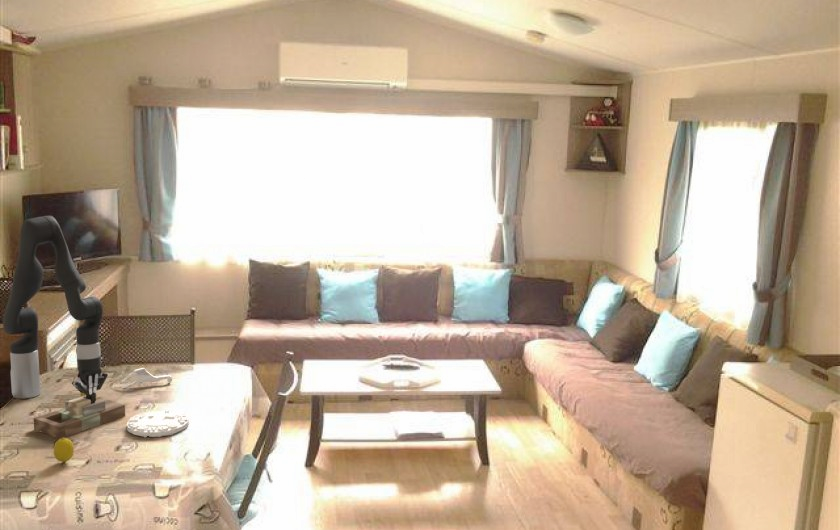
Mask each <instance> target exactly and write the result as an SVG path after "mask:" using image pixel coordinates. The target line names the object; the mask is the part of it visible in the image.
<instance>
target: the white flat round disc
mask: <svg viewBox="0 0 840 530" xmlns="http://www.w3.org/2000/svg"><path fill="white" fill-rule="evenodd" d="M189 419H190V418H189V417H188V415H187V414H185V413H182V412H178V411H172V410H169V409H164V410H160V411H158V410H157V411H150V412H145V413H137V414H135V415H134V416H131V417H130V418H129V420H127V423H126V429H127V432H128V433H130V434H133V435H134V436H140V437H142V438H145V439H146V438H147V436H149V437H153V438H162V437H163V436H171V435H172V436H173V435H175V434H177V433H179V432H180V431H181V432H182V431H183V430H186V428H187V427H188V425H189V424H190V423H189V422H190V420H189Z"/></svg>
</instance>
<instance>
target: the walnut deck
mask: <svg viewBox="0 0 840 530" xmlns="http://www.w3.org/2000/svg"><path fill="white" fill-rule="evenodd" d="M80 397H83V398H86V395H85V396H81V395H80V396H78V397H75V398H72V399H68V400H65V402H64V404H65V407H64V408H60V409H57V410H54V411H51V412H47V413H44V414H42V415H39V416H35V417H33V430H34V429H35V430H34V431H37V430H38V431H37V432H40V431H41V432H40V433H42V432H43V434H45V433H46V435H48V436H51V437H53V438H56V439H58V440H59V439H61V438H63V437H64V438H66V437H70V436H72V435H75V434H79V433H80V432H81V433H82V432H84V431H87V430H89V428H90V429H92V428H95V427H97V426H100V425H103V424H106V423H109V422H112V421H114V420H117V419H120V418H123V417H126V406H125V404H124V403H123V404H122V403H120V402H118V401H117V402H116V401H113V400H110V399H107V398H104V397H99V396H97V398H96V401H95V403H93V404H90V405H87V406H84V407H82V414H81V415H75V414H72V413H69V405H68V401H70V400H74V399H77V398H80ZM86 429H87V430H86ZM83 430H84V431H83Z"/></svg>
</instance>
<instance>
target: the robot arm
mask: <svg viewBox="0 0 840 530" xmlns="http://www.w3.org/2000/svg"><path fill="white" fill-rule="evenodd" d="M19 231H20V232H19V246H18V254H17V260H16V266H15V270H14V274H13V277H12V283H11V284H12V285H11V290H10V294H9V295H10V296H9V299H8V301H7V304H6V308H5V310H4V313H3V316H2V327H3V328H2V329H3V331H4V332H5V333H6V334H8V335H10V336H11V335H21V337H20V338H18V339H17V340H15V341H12V342H11V343H10V345H9V355H10V371H9V372H10V385H11V395H12V397H13V398H15V399H31V398H34V397H37V396H39V395H41V381H40V380H41V379H40V362H39V360H40V358H39V316H38V313H37V311H36V309H35V308H34V307H32V306H31V307H30V306H28V307H24V306H25V305H26V304H27V303H28V302H29V301H31V299H32V298H34V296H35V295H36V294H37V293H39V291H40V290H41V288H42V285H43V284H42V283H43V280H44V277H45V272H44V271H45V270H44V268H43V266H42V264H41V263H40V261H39V260H38V258H37V255H36V250H37V248H38V246H40V245H44V244H48V243H50V244H51V245H52V247H53V248H54V252H55V263H54V264H55V265H54V266H55V267H54V275H55V277H56V280H57V283H58V284H59V285H60V288H61V289H62V290H63V293H64V296H65V301H66V304H67V308H68V313H69V314H70V316H71V318H72V319H74V320H76V321H84V322H83V323H82V324H81V325H79V326H78V327H77V328H76V332H75V333H76V334H75V335H76V348H75V349H76V350H75V351H76V367H77V368H76V369H77V371H78V373H77V375H76V376H77V378H76V379H75V380H73V381H71V384H72V386H73V387H74V388H75V389H76V390H77V391H78V392H79V393H80V392H81V393H84V394H86V399H89V400H91V404H93V403H95V401H96V392H97V391H99V390H101V389H102V387H103V385H104V384H105V381H107V378H108V375H109V374H108V373H106V372H102V368H101V367H102V358H101V351H102V350H101V343H100V333H99V330H100V326H101V322H102V316H103V310H104V308H103V303H102V301H101V300H100V299H99V298H98V297H96V296H88V297H85V298H84V297H83V298H81V294H82V293H84V292H85V290H86V288H87V286H86V283H85V281H84V280H83V278H82V276H81V274H80V273H79V270H78V269H77V267H76V265H75V262H74V261H73V259H72V256H71V253H70V250H69V247H68V243H67V241H66V240H65V236H64V234H63V231H62V228H61V226H60V224H59V222H58V221H57V220H56V218H55V217H54V216H53V215H43V216H37V217H32V218H28V219H25V220H24V221H23V222H22V224H21V227H20V230H19ZM22 334H23V335H22ZM82 383H83V386H82ZM81 393H80V394H81Z"/></svg>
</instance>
